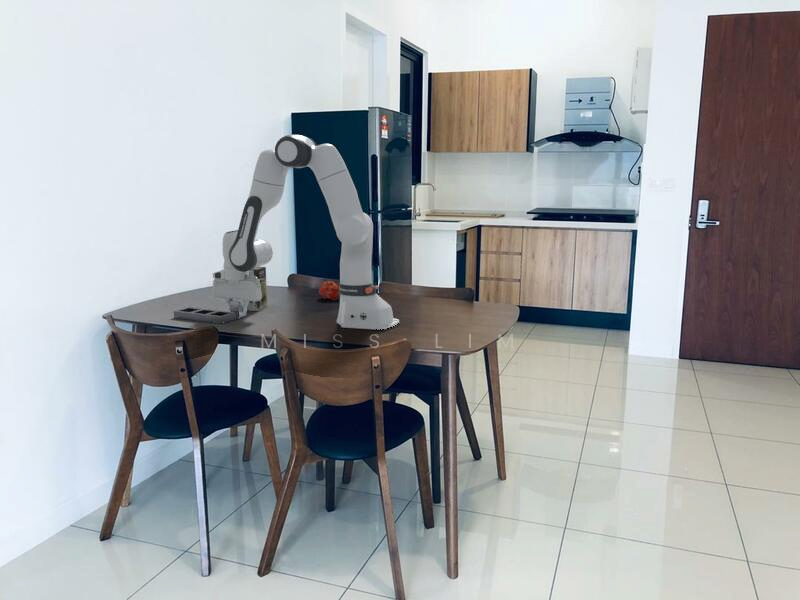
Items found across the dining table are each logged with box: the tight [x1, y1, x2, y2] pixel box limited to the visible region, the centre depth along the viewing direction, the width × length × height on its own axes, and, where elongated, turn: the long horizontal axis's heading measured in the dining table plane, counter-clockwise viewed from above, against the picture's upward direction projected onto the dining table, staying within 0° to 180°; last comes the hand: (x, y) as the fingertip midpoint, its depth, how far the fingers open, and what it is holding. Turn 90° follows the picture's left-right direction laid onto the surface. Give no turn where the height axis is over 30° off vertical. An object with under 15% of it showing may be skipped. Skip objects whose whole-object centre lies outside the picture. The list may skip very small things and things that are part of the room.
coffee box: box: [247, 266, 268, 312], centre depth 249 cm, size 9×6×16 cm
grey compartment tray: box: [173, 306, 237, 324], centre depth 233 cm, size 22×8×2 cm, turn 64°
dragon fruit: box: [317, 280, 340, 301], centre depth 268 cm, size 8×8×12 cm
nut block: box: [229, 299, 247, 318], centre depth 236 cm, size 4×4×6 cm
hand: (238, 310), depth 237 cm, fingers closed on nut block, 4 cm apart
